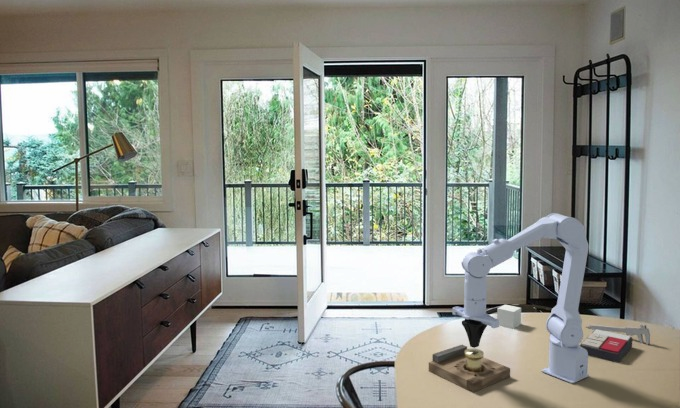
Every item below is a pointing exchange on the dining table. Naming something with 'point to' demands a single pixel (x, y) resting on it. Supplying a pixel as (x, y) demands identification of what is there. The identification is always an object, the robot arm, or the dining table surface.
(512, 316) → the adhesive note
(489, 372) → the jig
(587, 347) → the printed card box
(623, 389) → the dining table surface
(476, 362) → the bushing
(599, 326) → the caliper
